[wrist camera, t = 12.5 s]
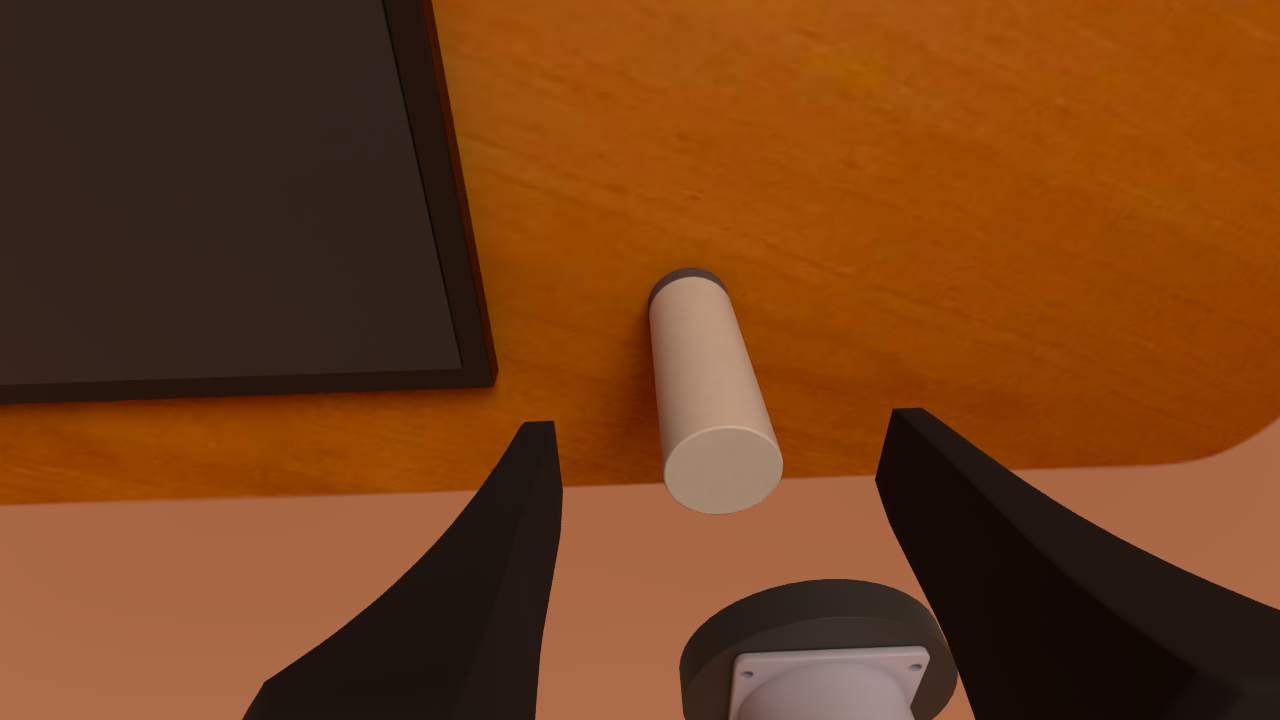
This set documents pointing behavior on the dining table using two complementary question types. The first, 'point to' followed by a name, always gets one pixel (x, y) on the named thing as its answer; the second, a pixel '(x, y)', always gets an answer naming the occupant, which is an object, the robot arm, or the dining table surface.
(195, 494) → the dining table surface
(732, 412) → the beige cylinder
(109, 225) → the tablet
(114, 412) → the dining table surface
